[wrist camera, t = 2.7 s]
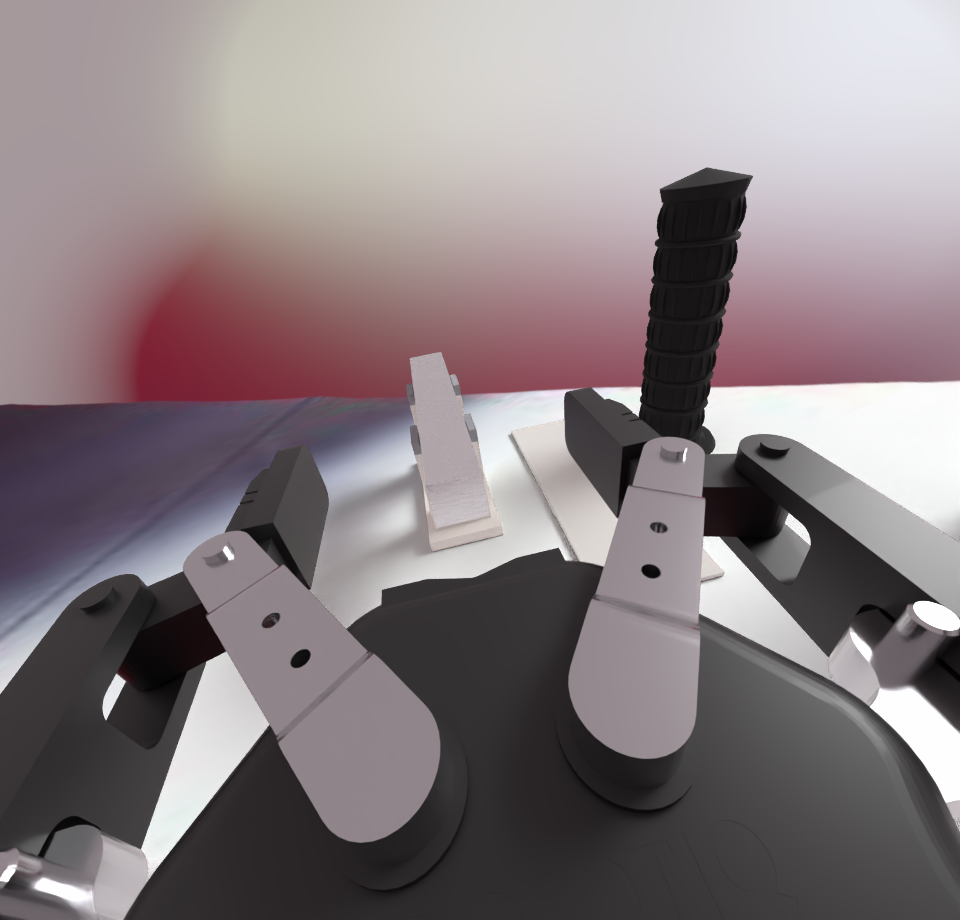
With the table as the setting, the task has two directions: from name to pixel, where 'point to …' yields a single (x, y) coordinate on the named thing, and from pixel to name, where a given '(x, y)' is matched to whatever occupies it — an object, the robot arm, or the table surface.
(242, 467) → the table surface
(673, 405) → the handle grip
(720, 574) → the mat
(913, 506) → the table surface
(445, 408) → the rail
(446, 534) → the rack
